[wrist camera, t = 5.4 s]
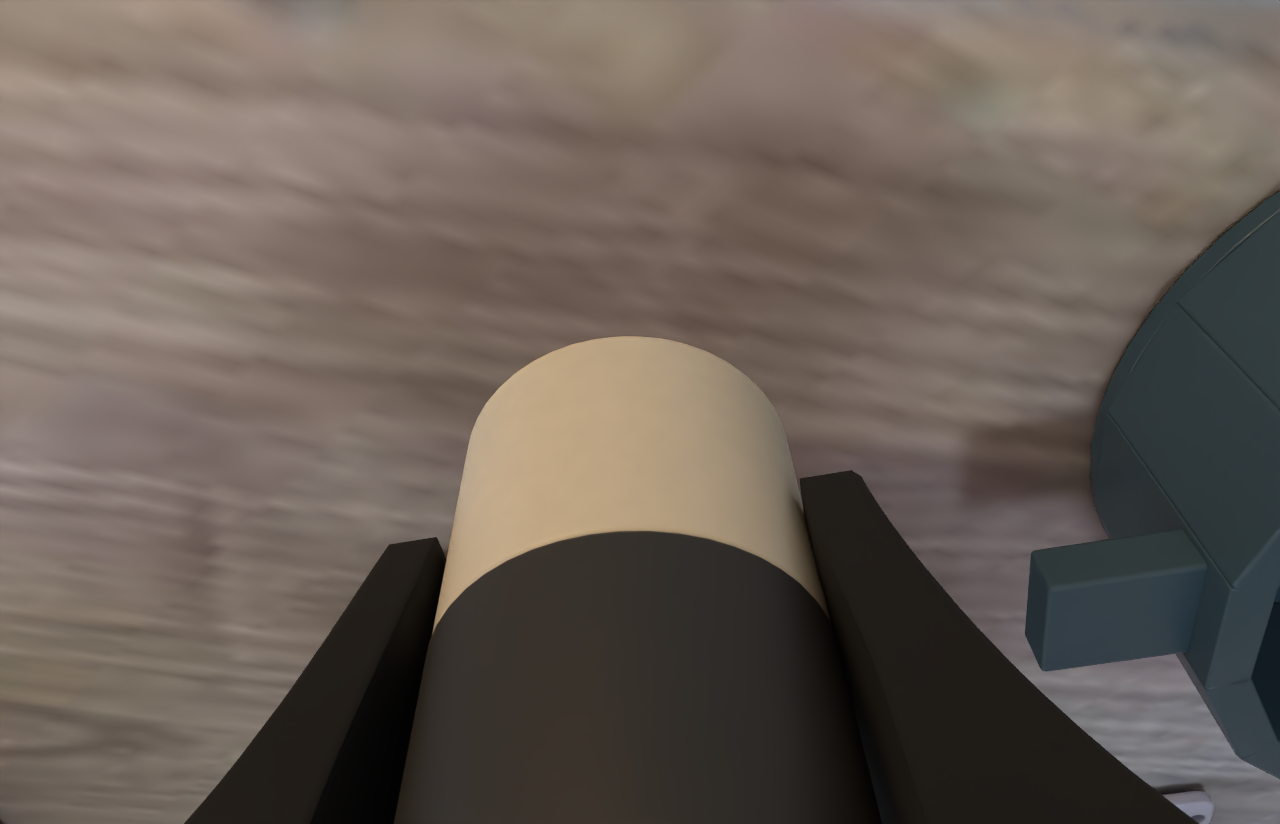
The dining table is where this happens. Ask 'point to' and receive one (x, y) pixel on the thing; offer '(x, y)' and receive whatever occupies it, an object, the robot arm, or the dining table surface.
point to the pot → (1187, 498)
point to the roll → (632, 611)
